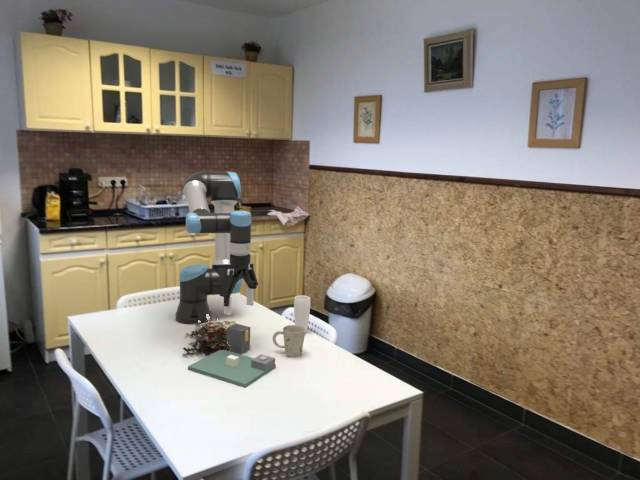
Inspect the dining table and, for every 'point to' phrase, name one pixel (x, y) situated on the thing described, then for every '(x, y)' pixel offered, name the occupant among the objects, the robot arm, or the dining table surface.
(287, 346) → the mug
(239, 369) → the board
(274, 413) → the dining table surface
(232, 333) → the dark gray box
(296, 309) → the drinking glass
